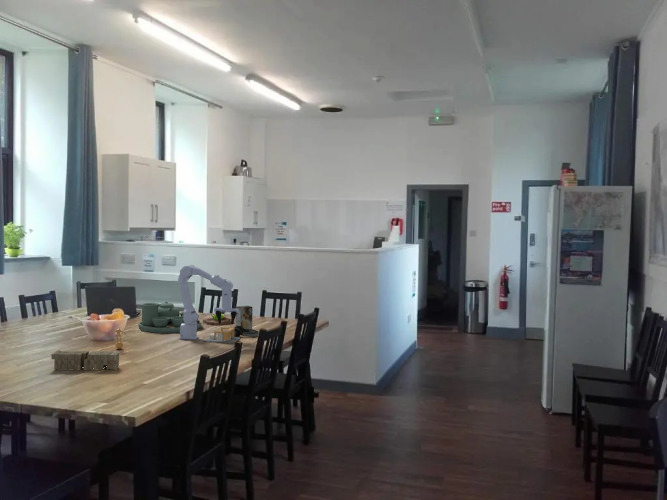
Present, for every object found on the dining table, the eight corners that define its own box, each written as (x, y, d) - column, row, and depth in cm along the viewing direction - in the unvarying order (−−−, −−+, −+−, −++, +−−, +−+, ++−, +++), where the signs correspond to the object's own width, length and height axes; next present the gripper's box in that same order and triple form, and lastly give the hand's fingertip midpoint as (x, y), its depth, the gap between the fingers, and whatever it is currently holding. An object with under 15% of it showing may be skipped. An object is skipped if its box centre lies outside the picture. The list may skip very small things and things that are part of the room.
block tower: (120, 368, 280) (56, 366, 276) (120, 351, 279) (57, 348, 276) (115, 372, 272) (50, 370, 268) (116, 354, 271) (51, 352, 268)
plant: (221, 319, 420) (222, 304, 420) (238, 323, 406) (238, 307, 406) (198, 322, 406) (198, 306, 405) (213, 326, 392) (214, 310, 392)
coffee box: (247, 329, 384) (247, 305, 383) (252, 330, 379) (253, 306, 378) (235, 330, 378) (235, 306, 377) (240, 332, 373) (241, 307, 372)
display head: (204, 341, 341) (204, 332, 341) (211, 337, 355) (212, 328, 355) (233, 343, 339) (233, 334, 339) (240, 338, 353) (240, 329, 353)
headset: (230, 317, 370) (261, 321, 370) (228, 332, 370) (259, 336, 370) (226, 320, 356) (258, 325, 356) (224, 336, 356) (256, 340, 357)
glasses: (214, 339, 341) (214, 331, 340) (221, 335, 354) (221, 327, 354) (227, 340, 340) (227, 331, 339) (234, 336, 353) (234, 328, 353)
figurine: (127, 348, 319) (128, 326, 318) (125, 350, 313) (125, 328, 312) (112, 348, 317) (112, 326, 317) (109, 350, 311) (109, 328, 311)
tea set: (169, 336, 356) (169, 309, 355) (125, 328, 377) (126, 303, 376) (214, 327, 390) (214, 302, 389) (171, 320, 411) (172, 297, 410)
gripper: (212, 301, 343) (212, 324, 344) (236, 302, 341) (235, 325, 342) (216, 300, 350) (216, 322, 351) (239, 301, 348) (239, 323, 349)
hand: (226, 323), depth 347 cm, fingers open, 7 cm apart
